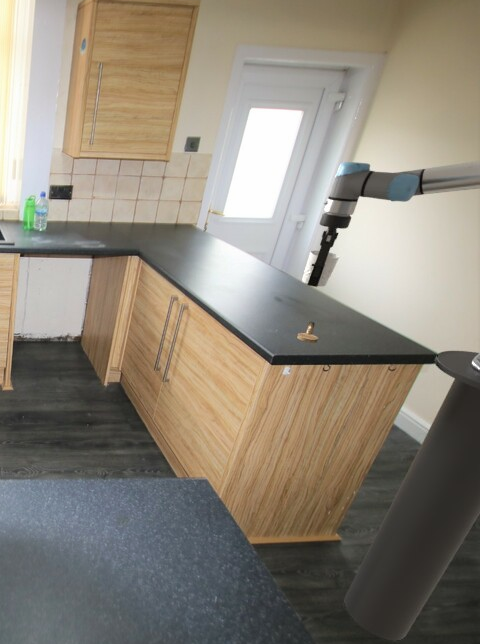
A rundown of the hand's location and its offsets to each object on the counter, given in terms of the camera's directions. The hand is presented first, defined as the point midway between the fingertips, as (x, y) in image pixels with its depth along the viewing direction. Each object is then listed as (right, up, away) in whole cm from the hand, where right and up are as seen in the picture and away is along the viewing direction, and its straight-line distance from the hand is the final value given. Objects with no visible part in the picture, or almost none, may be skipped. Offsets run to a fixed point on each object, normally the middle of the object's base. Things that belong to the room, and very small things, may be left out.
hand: (313, 282), depth 157 cm
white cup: (0, 0, 0) cm, 0 cm away
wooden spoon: (+3, -17, +6) cm, 18 cm away
